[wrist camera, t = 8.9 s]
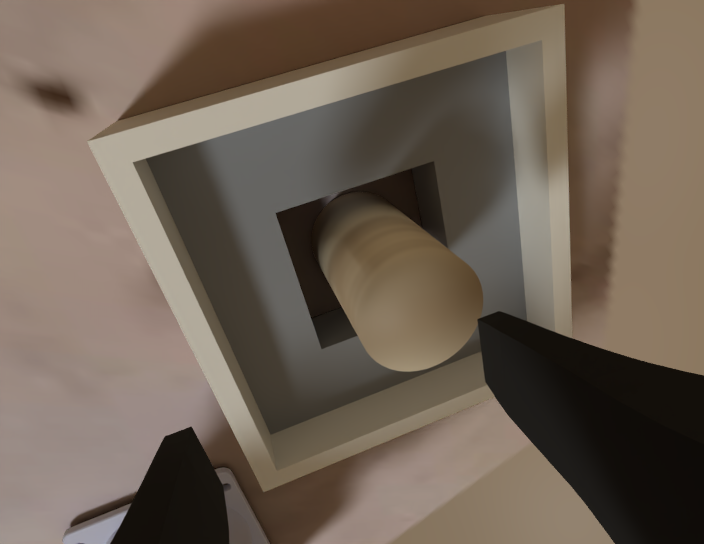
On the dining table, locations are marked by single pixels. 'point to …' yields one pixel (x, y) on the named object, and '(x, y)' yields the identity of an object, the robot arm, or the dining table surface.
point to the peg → (396, 282)
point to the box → (338, 175)
